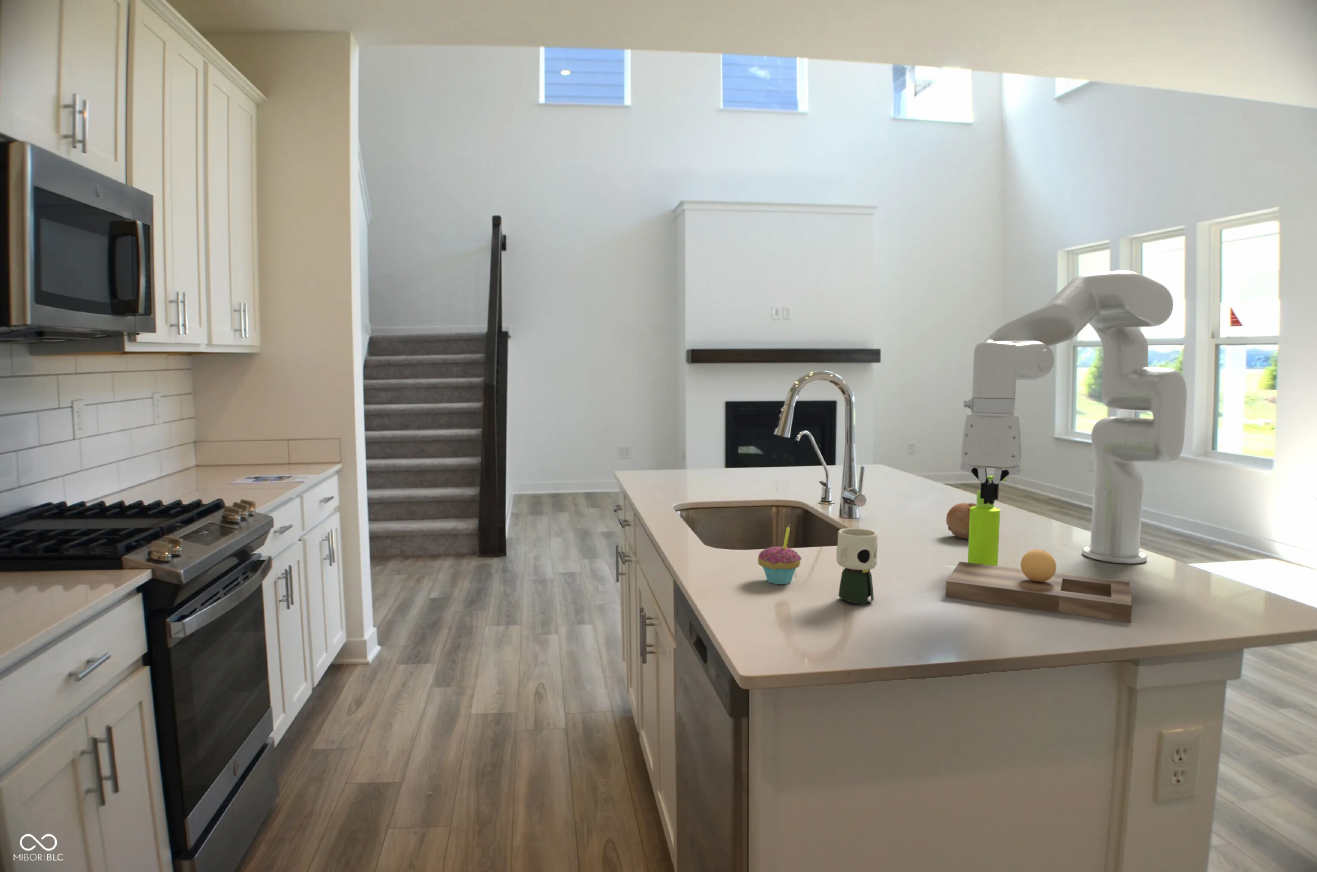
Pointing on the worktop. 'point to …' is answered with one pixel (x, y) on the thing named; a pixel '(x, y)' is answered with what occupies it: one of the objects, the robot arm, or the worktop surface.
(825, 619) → the worktop surface
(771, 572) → the cupcake
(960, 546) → the worktop surface
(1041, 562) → the ball
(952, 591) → the board
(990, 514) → the soap dispenser
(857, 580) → the character mug
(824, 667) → the worktop surface
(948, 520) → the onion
